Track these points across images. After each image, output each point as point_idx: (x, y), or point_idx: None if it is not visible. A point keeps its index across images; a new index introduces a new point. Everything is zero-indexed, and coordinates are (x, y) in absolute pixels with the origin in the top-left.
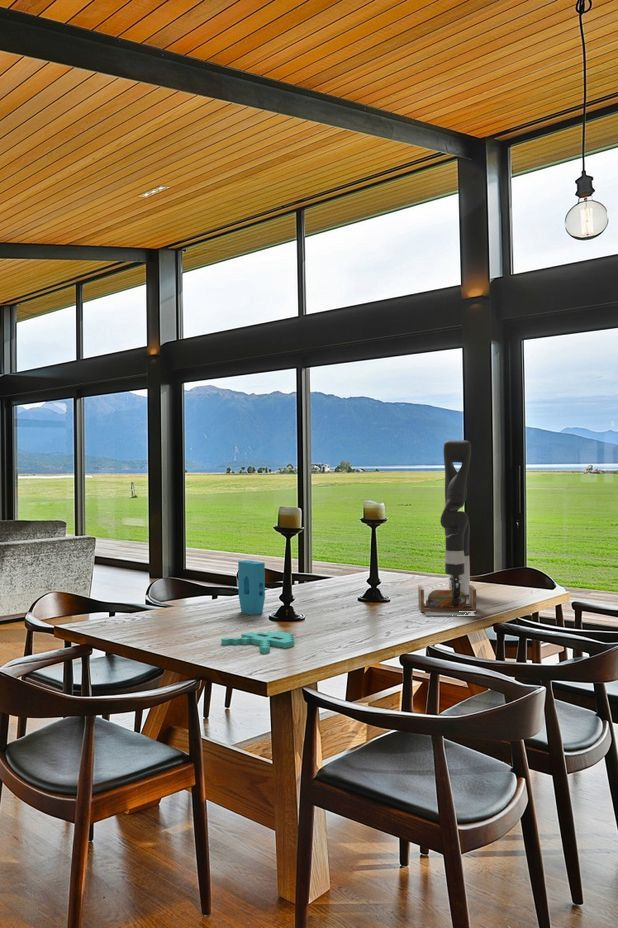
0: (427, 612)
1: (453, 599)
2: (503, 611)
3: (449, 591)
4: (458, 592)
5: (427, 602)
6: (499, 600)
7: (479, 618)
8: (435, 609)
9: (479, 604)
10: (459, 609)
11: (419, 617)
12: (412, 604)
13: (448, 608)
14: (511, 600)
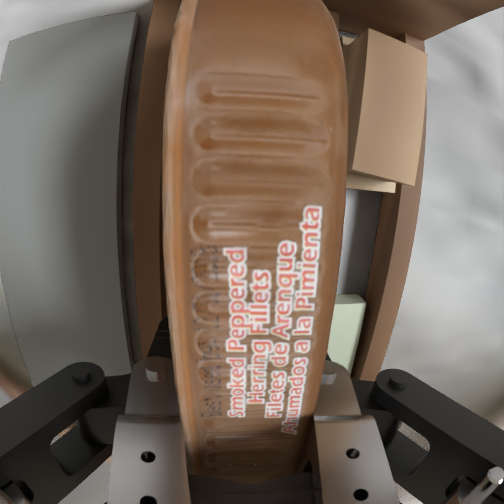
0: (92, 36)
1: (170, 346)
2: None
3: (199, 375)
4: (69, 448)
5: (359, 49)
6: None
7: (6, 378)
8: (140, 102)
9: (411, 436)
10: (142, 336)
11: (11, 10)
12: (492, 48)
13: (137, 241)
14: None
